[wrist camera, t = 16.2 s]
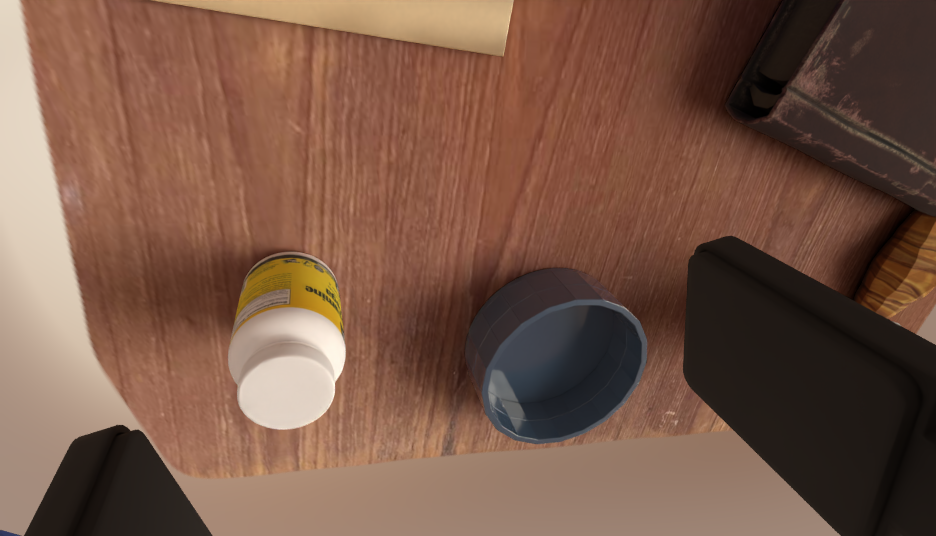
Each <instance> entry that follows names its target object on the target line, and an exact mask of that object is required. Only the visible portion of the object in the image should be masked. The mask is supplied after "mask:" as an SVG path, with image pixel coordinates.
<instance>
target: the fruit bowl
mask: <svg viewBox="0 0 936 536" xmlns="http://www.w3.org/2000/svg"><path fill="white" fill-rule="evenodd" d="M465 361H466V366H467V369H468V372H469V377H470V379H471V381H472V384H473V386H474V388H475V391H476V393H477V395H478V398H479V400H480V402H481V405H482V407H483V409H484V412H485V414H486V415H487V417H488V418H489V420H490V421H491V422H492V424H493V425H494V427H495V428H496V429H497V430H498V431H500V432H502V433H503V434H505V435H507V436H508V437H510V438H512V439H513V440H516V441H521V442H527V443H532V444H545V443H555V442H561V441H564V440H567V439H570V438H573V437H576V436H579V435H582V434H585V433H586V432H588V431H590V430H591V429H593V428H595V427H596V426H598V425H600V424H601V423H603V422H605V421H606V420H607V419H608V418H609V417H611V416H612V415H613V414H614V413H615V412H616V411H617V410H618V409H619V408H620V407H622V406H623V405H624V403H625V402H626V401H627V400H628V398H629V397H630V395H631V394H632V392H633V391H634V390H635V388H636V387H637V385H638V384H639V381H640V379H641V376H642V373H643V371H644V368H645V365H646V362H647V338H646V336H645V333H644V331H643V328H642V325H641V323H640V321H639V320H638V319H637V318H636V317H635V316H634V315H633V314H632V313H631V312H630V311H629V310H628V309H627V308H626V307H625V306H624V305H623V304H622V303H621V302H620V301H619V300H618V299H617V298H616V297H615V296H614V295H613V294H612V293H611V292H609V291H608V290H607V289H606V288H605V287H604V286H603V285H602V284H601V283H600V282H599V281H598V280H596V279H595V278H594V277H592V276H590V275H588V274H586V273H584V272H581V271H578V270H574V269H568V268H550V269H543V270H538V271H534V272H531V273H528V274H526V275H523V276H521V277H519V278H517V279H515V280H513V281H511V282H510V283H508V284H506V285H505V286H504V287H502V288H501V289H500V290H498V291H497V292H496V293H495V294H494V295H493V296H492V297H490V298H489V299H488V300H487V302H486V303H485V304H484V305H483V306H482V308H481V309H480V310H479V312H478V313H477V315H476V316H475V318H474V320H473V322H472V324H471V326H470V329H469V332H468V334H467V338H466V344H465Z"/></svg>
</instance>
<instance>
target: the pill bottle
mask: <svg viewBox="0 0 936 536" xmlns="http://www.w3.org/2000/svg"><path fill="white" fill-rule="evenodd" d="M345 351H346V350H345V339H344V331H343V322H342V313H341V305H340V295H339V289H338V284H337V281H336V278H335V276H334V274H333V273H332V271H331V270H330V269H329V267H328V266H327V265H326V264H325V263H323V262H322V261H321V260H319V259H318V258H316V257H314V256H311V255H309V254H305V253H301V252H281V253H277V254H273V255H270V256H268V257H266V258H264V259H262V260H261V261H259V262H258V263H257V264H255V265H254V266H253V267H252V269H251V270H250V271H249V273H248V274H247V276H246V278H245V280H244V283H243V287H242V290H241V295H240V299H239V304H238V308H237V312H236V317H235V322H234V327H233V331H232V336H231V341H230V345H229V352H228V365H229V369H230V372H231V375H232V377H233V379H234V381H235V382H236V384H237V385H238V389H237V399H238V403H239V406H240V408H241V410H242V411H243V413H244V414H245V415H246V416H247V417H248V418H249V419H250V420H252V421H253V422H255V423H257V424H259V425H261V426H264V427H267V428H271V429H280V430H283V429H294V428H299V427H302V426H305V425H307V424H310V423H312V422H313V421H315V420H317V419H318V418H319V417H320V416H322V415H323V414H324V413H325V412H326V411H327V409H328V408H329V407H330V405H331V403H332V401H333V398H334V394H335V381H336V380H337V379H338V377H339V376H340V374H341V372H342V369H343V366H344V363H345V355H346V353H345Z"/></svg>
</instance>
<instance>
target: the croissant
mask: <svg viewBox="0 0 936 536" xmlns="http://www.w3.org/2000/svg"><path fill="white" fill-rule="evenodd" d="M935 286H936V217H934V216H931V215H928V214H926V213H923V212H920V211H918V210H916V209H915V210H914V211H913V212H912V213H911V214H910V215H909V216H908V217H907V218H906V220H905V221H904V222H903V223H902V224H901V225H900V226H899V227H898V228H897V230H896V231H895V233H894V234H893V236H892V237H891V238H890V239H889V241H888V242H887V243H886V244H885V245H884V246H883V247H882V249H881V250H880V251H879V252H878V254H877V255H876V256H875V257H874V259H873V260H872V262H871V264H870V266H869V268H868V270H867V272H866V274H865V276H864V279H863V282H862V284H861V285H860V287H859V288H858V290H857V292H856V294H855V297H854V300H853V301H855V302H857V303H859V304H861V305H863V306H864V307H866V308H868V309H870V310H872V311H874V312H876V313H877V314H879V315H881V316H883V317H885V318H887V319H889V318H891V317H892V316H894V315H895V314H897V313H898V312H900V311H901V310H903V309H905V308H906V307H907V306H908V305H909V304H910V303H911V302H913V301H916V300H918V299H920V298H923V297H925V296H926V295H927V294H928V293H929V292H930V291H931V290H932V289H933V288H934V287H935Z"/></svg>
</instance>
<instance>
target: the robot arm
mask: <svg viewBox="0 0 936 536" xmlns="http://www.w3.org/2000/svg"><path fill="white" fill-rule="evenodd" d="M683 373H684V377H685V379H686V381H687V383H688V385H689V386H690V387H691V389H692V390H693V391H694V392H695V393H696V394H697V395H698V396H699V397H700V398H701V399H702V400H703V401H704V402H705V403H706V404H707V405H708V406H710V407H711V408H712V409H713V410H714V411H715V412H716V413H717V414H718V415H719V416H720V417H721V418H722V419H723V420H724V421H725V422H726V423H727V424H728V425H729V426H730V427H731V428H732V429H733V430H734V431H735V432H736V433H737V434H738V435H739V436H740V437H741V438H742V439H743V440H744V441H745V442H746V443H747V444H748V445H749V446H750V447H751V448H752V449H753V450H754V451H755V452H756V453H757V454H758V455H759V456H760V457H761V458H762V459H763V460H764V461H765V462H766V463H767V464H768V465H769V466H770V467H771V468H772V469H773V470H774V471H775V472H777V473H778V474H779V475H780V476H781V477H782V478H783V479H784V480H785V481H786V482H787V483H788V484H789V485H790V486H791V487H792V488H793V489H794V490H795V491H796V492H797V493H798V494H799V495H800V496H801V497H802V498H803V499H804V500H805V501H806V502H807V503H808V504H809V505H810V506H811V507H812V508H813V509H814V510H815V511H816V512H817V513H818V514H819V515H820V516H821V517H822V518H823V519H824V520H825V521H826V522H827V523H828V524H829V525H830V526H831V527H832V528H833V529H834V530H835V531H837V533H839V534H840V535H841V536H936V345H935V344H933V343H931V342H929V341H927V340H926V339H923V338H922V337H920V336H918V335H916V334H915V333H913V332H911V331H909V330H907V329H905V328H903V327H902V326H900V325H898V324H896V323H894V322H892V321H890V320H889V319H887V318H885V317H883V316H881V315H879V314H877V313H876V312H874V311H872V310H870V309H868V308H866V307H864V306H863V305H861V304H859V303H857V302H855V301H853V300H852V299H850V298H848V297H846V296H844V295H842V294H840V293H839V292H837V291H835V290H833V289H831V288H829V287H827V286H826V285H824V284H822V283H820V282H818V281H816V280H814V279H813V278H811V277H809V276H807V275H805V274H803V273H801V272H800V271H798V270H796V269H794V268H792V267H790V266H789V265H787V264H785V263H783V262H781V261H779V260H777V259H776V258H774V257H772V256H770V255H768V254H766V253H764V252H763V251H761V250H759V249H757V248H755V247H753V246H751V245H750V244H748V243H746V242H744V241H742V240H740V239H738V238H736V237H733V236H726V237H723V238H719V239H716V240H713V241H710V242H707V243H703V244H701V245H699V246H698V247H697V248H696V250H695V253H694V255H693V256H691V257H690V259H689V263H688V278H687V299H686V319H685V340H684V360H683ZM24 536H212V534H211V533H210V531H209V530H208V528H207V527H206V525H205V524H204V523H203V521H202V519H201V518H200V516H199V515H198V513H197V512H196V510H195V509H194V507H193V506H192V504H191V503H190V501H189V500H188V499H187V497H186V495H185V494H184V493H183V491H182V490H181V488H180V487H179V485H178V484H177V482H176V481H175V479H174V478H173V476H172V475H171V473H170V472H169V470H168V469H167V467H166V466H165V464H164V463H163V461H162V460H161V458H160V457H159V455H158V454H157V452H156V451H155V449H154V448H153V446H152V445H151V443H150V442H149V440H148V439H147V437H146V436H145V435H144V433H143V432H141V431H140V430H133V431H130V430H129V429H128V428H127V427H125V426H124V425H116V426H113V427H110V428H107V429H104V430H101V431H97V432H94V433H91V434H88V435H84V436H81V437H78V438H77V439H75V440H74V441H73V442H72V444H71V445H70V447H69V449H68V451H67V453H66V455H65V457H64V459H63V460H62V462H61V464H60V466H59V468H58V470H57V472H56V474H55V476H54V478H53V480H52V482H51V484H50V486H49V488H48V490H47V492H46V494H45V496H44V498H43V500H42V502H41V504H40V506H39V508H38V510H37V511H36V513H35V515H34V517H33V520H32V521H31V523H30V525H29V527H28V529H27V531H26V533H25V535H24Z"/></svg>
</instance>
